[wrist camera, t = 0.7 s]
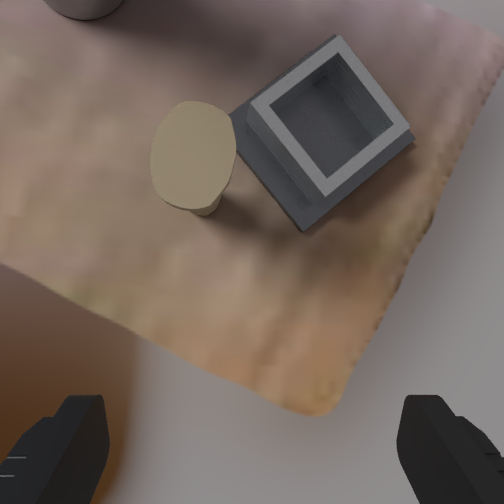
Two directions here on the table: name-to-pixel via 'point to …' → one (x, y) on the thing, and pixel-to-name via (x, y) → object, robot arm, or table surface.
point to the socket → (318, 132)
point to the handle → (193, 157)
